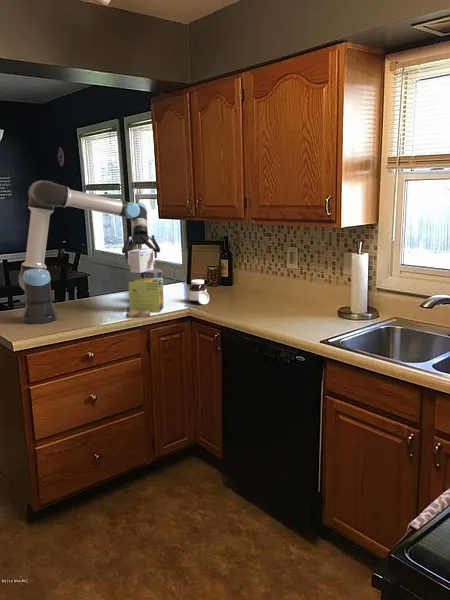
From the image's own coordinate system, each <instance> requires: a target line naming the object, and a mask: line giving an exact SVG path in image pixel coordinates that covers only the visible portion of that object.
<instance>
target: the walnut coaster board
mask: <svg viewBox="0 0 450 600" xmlns="http://www.w3.org/2000/svg"><path fill="white" fill-rule="evenodd" d="M150 317H151V312H150V310H136V311H130V310H128V318H130V319H133V318H134V319H135V318H150Z"/></svg>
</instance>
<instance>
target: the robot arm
mask: <svg viewBox="0 0 450 600" xmlns="http://www.w3.org/2000/svg"><path fill="white" fill-rule="evenodd" d="M27 195H28V198H29V199H28V207H27V208H28V209H29V210H30V218H29V225H28V227H29V228H28V235H27V243H26V244H27V245H26V253H25V260H24V262H22V263H21V266H20V272H19V273H18V279H17V280H18V284H19V287H20V288H21V289H22V291H24V299H25V306H24V307H25V308H24V311H23V315H22V321H23V323H26V324H32V325H33V324H34V325H35V324H45V323H51V322H54V321H56V320H58V314H57V311H56V308H55V306H54V304H53V297H52V285H51V278H52V277H51V275H50V271H49V270H48V268H47V265H46V264H45V259H46V258H45V257H46V249H47V243H48V242H47V241H48V234H49V227H50V217H51V214H53V213H54V211H55V207H59V208H60V207H62V208H66V207H72V208H77V209H81V210H87V211H94V212H97V213H103V214H109V215H113V216H119V217H121V218H125V219H128V220H131V221H132V236H130V235H127V236H126V240H125V242H124V244H123V246H122V249H121V254H122V255H123V254H125V259H126V260H128V261H127V262H128V263H127V264H128V266H130V255H129V251H131V250H134V248H135V247H136V246H137V245H139V246H140V245H145V246H146V247H148V249H153V265H156V259H157V257H158V255H157V253H160V252H161V248H160V245H159V244H158V243H157V240H156V239H155V235H154V234H151V236H150V235H149V231H148V230H149V229H148V228H149V227H148V226H149V225H148V210H147V209H148V208H147V206H146V205H145V204H144V203H143V202H132V201H131V202H129V201H125V200H121V199H116V198H111V197H106V196H101V195H97V194H93V193H88V192H84V191H79V190H74V189H70V188H69V187H68V186H66V185H63V184H62V185H61V184H58V183H55V182H53V181H50V180H38V181H37V180H36V181H34V182H33V183H32V184H31V185H30V187H29V188H28V193H27ZM131 241H132V242H131ZM150 241H151V242H152V243H151V242H150ZM130 242H131V243H130Z"/></svg>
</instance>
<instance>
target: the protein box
mask: <svg viewBox="0 0 450 600" xmlns="http://www.w3.org/2000/svg"><path fill="white" fill-rule="evenodd" d="M128 296H129V297H128V298H129V300H128V301H129V311H136V310H150V313H161V311H162V310H164V308H165V304H164V278H163V277H162V278H145V277H144V278H142V277H137V278H136V277H135V278H131V280H129V281H128Z"/></svg>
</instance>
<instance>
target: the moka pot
mask: <svg viewBox="0 0 450 600" xmlns="http://www.w3.org/2000/svg"><path fill="white" fill-rule="evenodd" d="M155 267H156V266H155V265H153V269H154V270H150V271H146V272H142V273H140V275H141V278H163V274H164V272H163V270H161V269H159V268H155Z"/></svg>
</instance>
